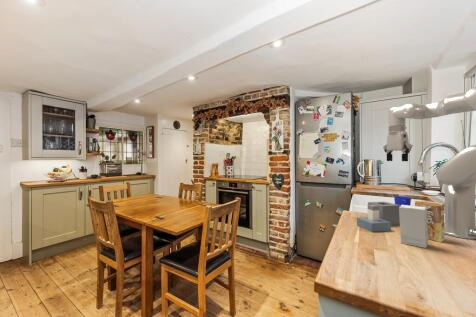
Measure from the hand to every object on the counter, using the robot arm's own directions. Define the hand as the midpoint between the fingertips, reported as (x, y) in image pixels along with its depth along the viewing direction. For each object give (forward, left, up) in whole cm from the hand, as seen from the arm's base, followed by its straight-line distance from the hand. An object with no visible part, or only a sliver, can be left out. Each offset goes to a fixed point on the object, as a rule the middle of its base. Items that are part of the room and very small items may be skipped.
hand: (396, 161), depth 120 cm
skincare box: (-30, +22, -32) cm, 49 cm away
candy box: (-26, +10, -32) cm, 43 cm away
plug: (-10, +23, -31) cm, 40 cm away
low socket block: (-10, +23, -32) cm, 41 cm away
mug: (+10, -14, -32) cm, 37 cm away
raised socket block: (-3, +11, -32) cm, 34 cm away
